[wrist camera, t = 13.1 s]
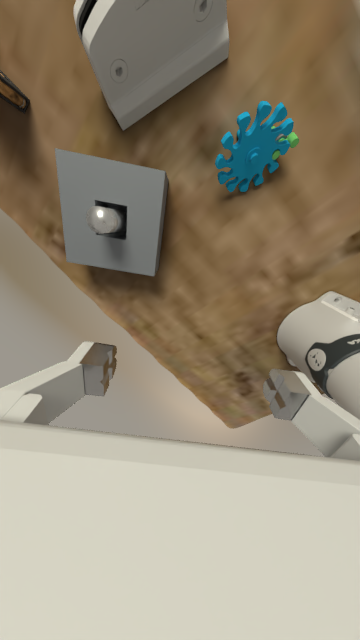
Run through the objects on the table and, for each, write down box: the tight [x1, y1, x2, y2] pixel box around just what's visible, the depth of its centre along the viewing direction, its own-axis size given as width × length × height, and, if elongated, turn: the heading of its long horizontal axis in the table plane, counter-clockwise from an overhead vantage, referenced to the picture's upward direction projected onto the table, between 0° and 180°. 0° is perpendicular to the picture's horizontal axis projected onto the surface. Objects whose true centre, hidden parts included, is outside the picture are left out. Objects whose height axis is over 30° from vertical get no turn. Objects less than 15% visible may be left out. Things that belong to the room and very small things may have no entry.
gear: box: [215, 101, 299, 192], centre depth 26 cm, size 11×6×10 cm
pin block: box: [55, 148, 168, 276], centre depth 30 cm, size 14×14×6 cm
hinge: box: [74, 0, 229, 131], centre depth 21 cm, size 17×5×10 cm, turn 116°
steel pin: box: [86, 206, 127, 234], centre depth 27 cm, size 3×3×10 cm
